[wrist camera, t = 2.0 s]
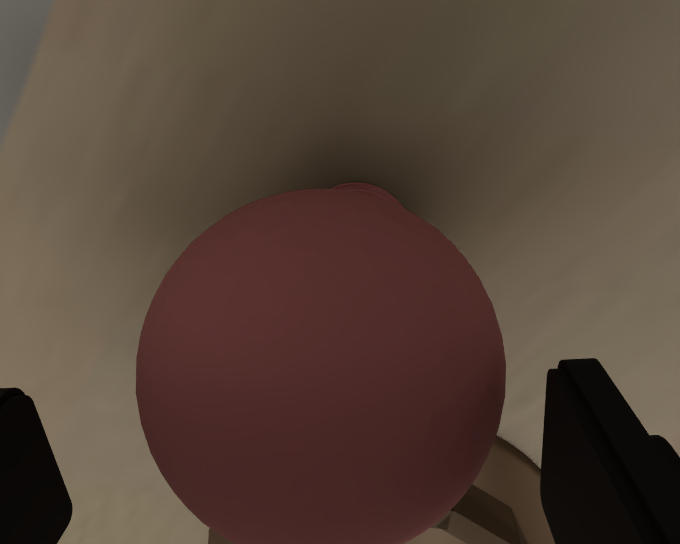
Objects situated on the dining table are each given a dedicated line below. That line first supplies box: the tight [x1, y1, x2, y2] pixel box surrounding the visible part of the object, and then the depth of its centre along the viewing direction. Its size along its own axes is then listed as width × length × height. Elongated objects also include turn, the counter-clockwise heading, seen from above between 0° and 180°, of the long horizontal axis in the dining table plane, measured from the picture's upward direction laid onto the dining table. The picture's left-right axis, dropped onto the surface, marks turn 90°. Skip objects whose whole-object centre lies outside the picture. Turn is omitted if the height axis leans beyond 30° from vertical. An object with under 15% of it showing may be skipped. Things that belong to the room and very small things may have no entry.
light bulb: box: [136, 183, 506, 544], centre depth 14 cm, size 7×7×12 cm
